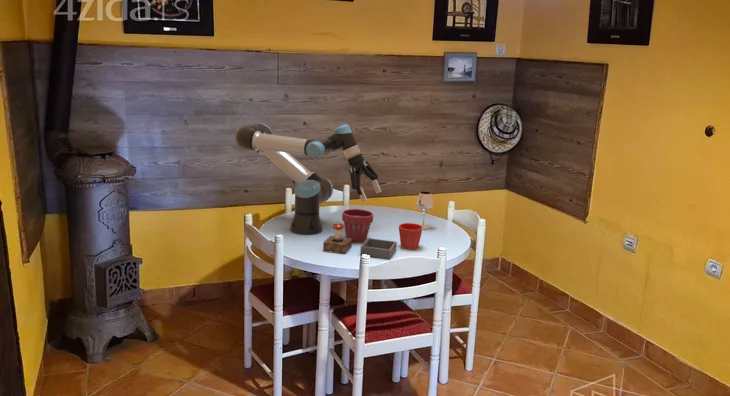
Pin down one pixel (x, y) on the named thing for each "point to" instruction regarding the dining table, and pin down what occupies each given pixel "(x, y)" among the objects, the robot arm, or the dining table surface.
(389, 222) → the dining table surface
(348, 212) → the plant pot
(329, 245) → the pin block
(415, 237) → the flower pot
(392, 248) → the tray
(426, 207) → the wineglass
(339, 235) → the lock pin
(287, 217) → the dining table surface
